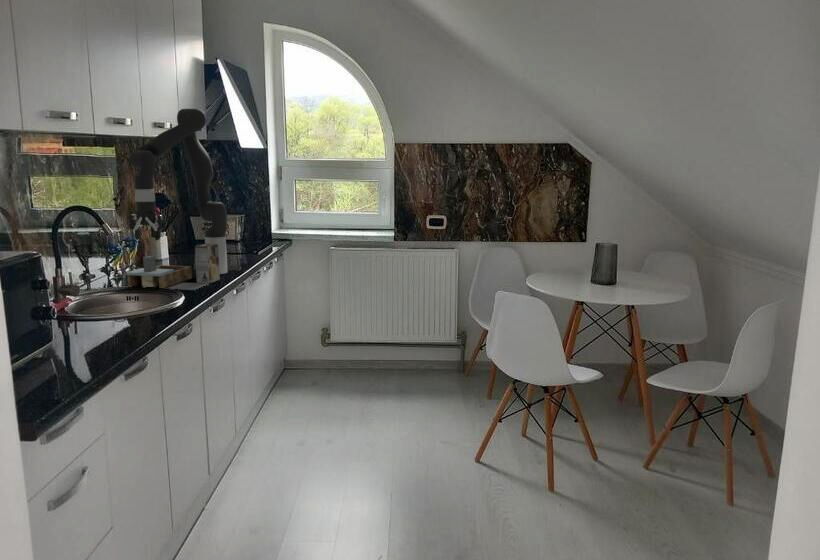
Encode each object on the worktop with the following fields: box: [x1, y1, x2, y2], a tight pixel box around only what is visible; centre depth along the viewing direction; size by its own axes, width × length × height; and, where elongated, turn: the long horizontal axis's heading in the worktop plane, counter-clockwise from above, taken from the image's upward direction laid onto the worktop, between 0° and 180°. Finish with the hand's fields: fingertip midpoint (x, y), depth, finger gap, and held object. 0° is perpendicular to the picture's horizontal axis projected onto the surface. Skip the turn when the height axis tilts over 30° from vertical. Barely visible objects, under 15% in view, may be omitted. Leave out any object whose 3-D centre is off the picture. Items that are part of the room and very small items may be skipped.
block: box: [141, 276, 159, 288], centre depth 265 cm, size 5×5×5 cm
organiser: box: [127, 264, 193, 289], centre depth 272 cm, size 24×15×6 cm, turn 170°
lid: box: [125, 255, 174, 276], centre depth 263 cm, size 11×15×7 cm
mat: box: [168, 282, 210, 291], centre depth 264 cm, size 12×12×1 cm
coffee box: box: [194, 243, 221, 284], centre depth 275 cm, size 9×6×16 cm
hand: (147, 239), depth 261 cm, fingers open, 8 cm apart
